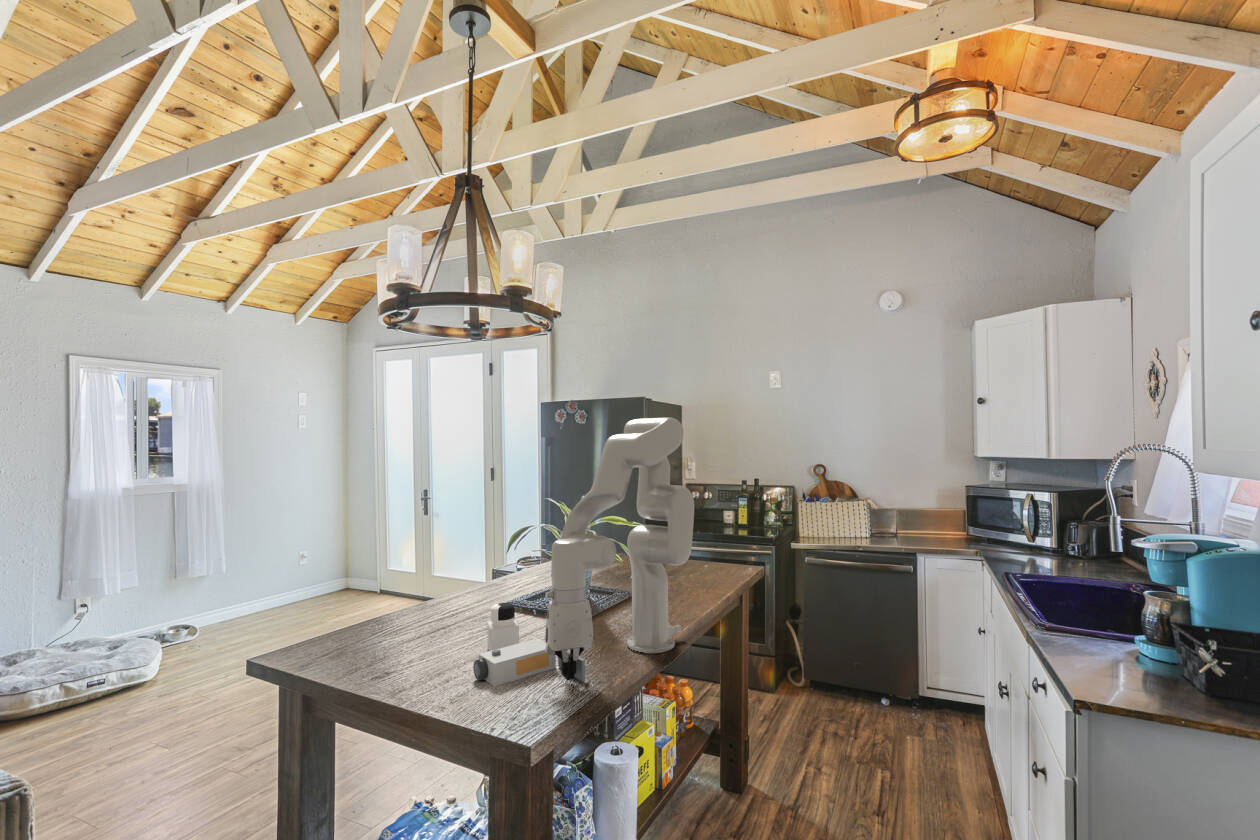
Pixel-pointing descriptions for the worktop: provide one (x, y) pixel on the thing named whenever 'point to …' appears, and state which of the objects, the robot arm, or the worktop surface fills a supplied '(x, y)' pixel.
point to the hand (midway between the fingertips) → (568, 677)
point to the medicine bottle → (502, 627)
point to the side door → (577, 667)
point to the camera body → (513, 662)
